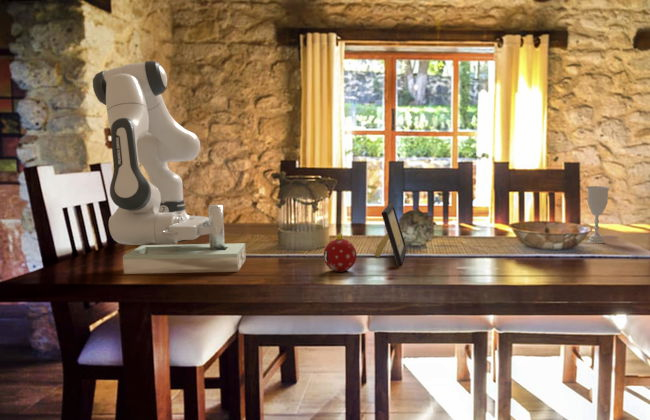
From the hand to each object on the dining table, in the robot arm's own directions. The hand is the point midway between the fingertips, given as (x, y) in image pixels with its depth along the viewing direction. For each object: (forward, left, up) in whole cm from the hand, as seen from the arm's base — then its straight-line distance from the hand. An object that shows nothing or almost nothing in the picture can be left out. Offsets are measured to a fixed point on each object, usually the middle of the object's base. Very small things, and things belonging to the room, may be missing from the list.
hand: (219, 227), depth 153 cm
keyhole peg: (0, -1, -10) cm, 10 cm away
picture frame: (-8, +48, -11) cm, 50 cm away
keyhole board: (0, -9, -11) cm, 14 cm away
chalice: (-26, +118, -11) cm, 121 cm away
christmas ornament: (+10, +33, -11) cm, 36 cm away
